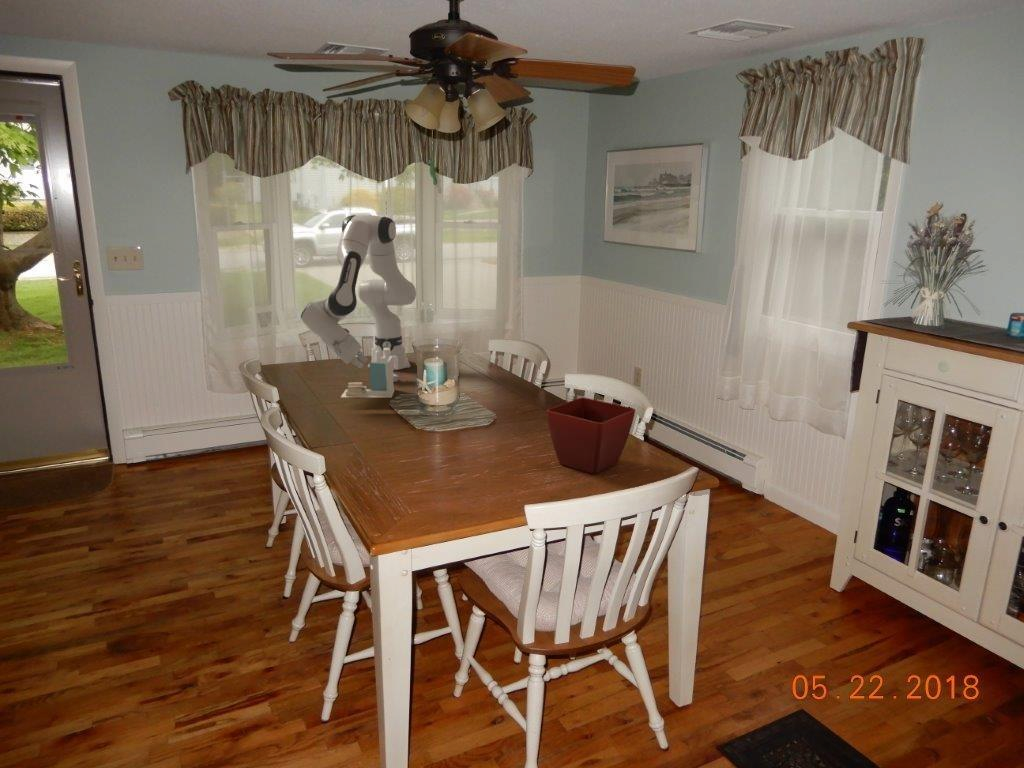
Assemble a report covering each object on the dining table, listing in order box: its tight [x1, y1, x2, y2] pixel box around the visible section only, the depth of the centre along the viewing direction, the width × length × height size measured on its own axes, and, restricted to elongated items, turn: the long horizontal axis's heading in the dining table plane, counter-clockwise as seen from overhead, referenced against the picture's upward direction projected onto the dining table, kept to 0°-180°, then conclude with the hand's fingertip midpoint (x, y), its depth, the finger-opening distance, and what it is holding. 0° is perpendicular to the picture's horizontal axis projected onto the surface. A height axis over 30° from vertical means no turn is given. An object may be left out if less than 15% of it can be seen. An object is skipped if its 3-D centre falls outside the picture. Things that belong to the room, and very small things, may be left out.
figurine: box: [375, 348, 400, 383], centre depth 291 cm, size 7×9×15 cm
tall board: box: [368, 361, 387, 391], centre depth 272 cm, size 2×6×12 cm, turn 92°
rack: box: [340, 356, 395, 399], centre depth 272 cm, size 11×19×15 cm, turn 92°
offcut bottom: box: [345, 385, 368, 396], centre depth 273 cm, size 8×6×2 cm
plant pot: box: [546, 397, 636, 475], centre depth 209 cm, size 19×19×17 cm
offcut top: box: [347, 381, 363, 392], centre depth 272 cm, size 6×5×2 cm
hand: (364, 364), depth 270 cm, fingers open, 8 cm apart
